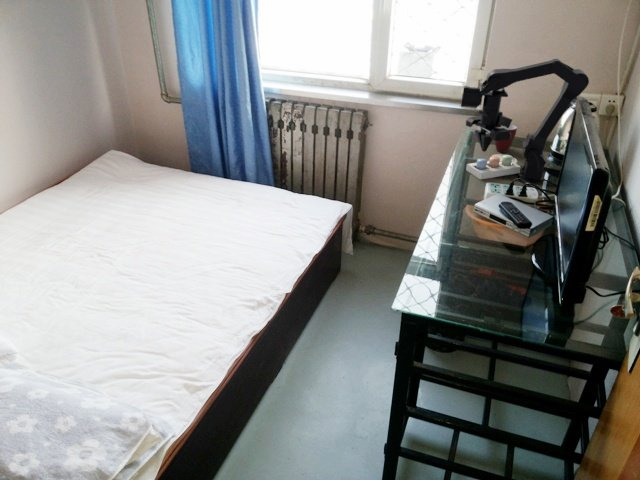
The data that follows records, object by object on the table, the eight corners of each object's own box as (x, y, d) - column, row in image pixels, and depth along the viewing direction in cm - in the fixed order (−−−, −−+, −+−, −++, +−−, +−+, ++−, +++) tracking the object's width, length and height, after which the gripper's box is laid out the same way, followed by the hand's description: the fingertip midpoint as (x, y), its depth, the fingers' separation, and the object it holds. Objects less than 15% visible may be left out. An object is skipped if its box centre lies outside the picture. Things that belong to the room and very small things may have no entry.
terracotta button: (500, 167, 190) (502, 159, 189) (492, 168, 189) (493, 160, 188) (494, 163, 193) (496, 156, 192) (486, 164, 192) (487, 157, 191)
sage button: (513, 165, 192) (514, 157, 190) (504, 166, 191) (506, 158, 189) (507, 161, 195) (508, 154, 193) (498, 163, 194) (500, 155, 192)
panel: (519, 172, 191) (520, 166, 190) (480, 179, 186) (481, 173, 185) (504, 164, 198) (505, 158, 197) (466, 170, 193) (467, 163, 192)
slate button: (487, 169, 189) (489, 161, 187) (479, 170, 188) (480, 162, 186) (482, 165, 192) (483, 158, 190) (473, 166, 190) (475, 159, 189)
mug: (492, 144, 217) (496, 120, 212) (512, 146, 215) (517, 122, 210) (491, 152, 209) (495, 128, 204) (512, 155, 206) (516, 130, 201)
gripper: (528, 113, 173) (519, 157, 181) (494, 99, 188) (487, 140, 196) (500, 117, 170) (492, 161, 178) (467, 102, 185) (462, 143, 193)
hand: (484, 151), depth 186 cm, fingers closed
